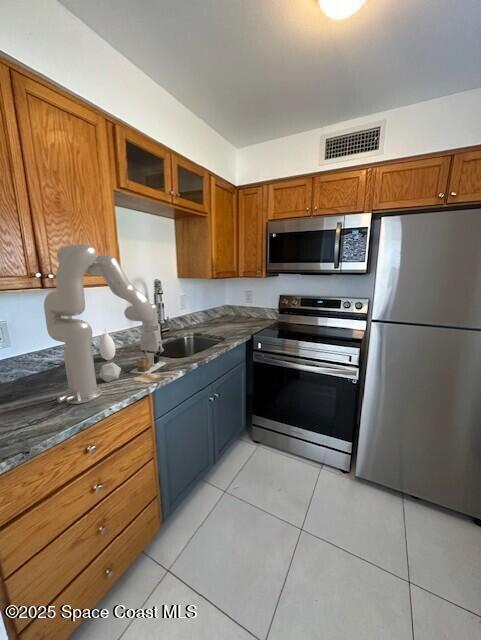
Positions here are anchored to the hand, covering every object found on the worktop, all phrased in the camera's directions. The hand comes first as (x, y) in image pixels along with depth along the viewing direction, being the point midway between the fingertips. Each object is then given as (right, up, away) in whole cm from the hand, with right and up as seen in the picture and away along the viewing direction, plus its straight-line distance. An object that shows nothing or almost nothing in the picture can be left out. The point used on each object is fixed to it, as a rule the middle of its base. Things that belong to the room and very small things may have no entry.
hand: (152, 362), depth 138 cm
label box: (0, 0, 0) cm, 0 cm away
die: (-14, -6, -16) cm, 22 cm away
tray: (-1, -3, -3) cm, 4 cm away
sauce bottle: (-29, -1, +12) cm, 31 cm away
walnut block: (-2, -3, -6) cm, 8 cm away
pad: (+2, -5, -15) cm, 16 cm away
